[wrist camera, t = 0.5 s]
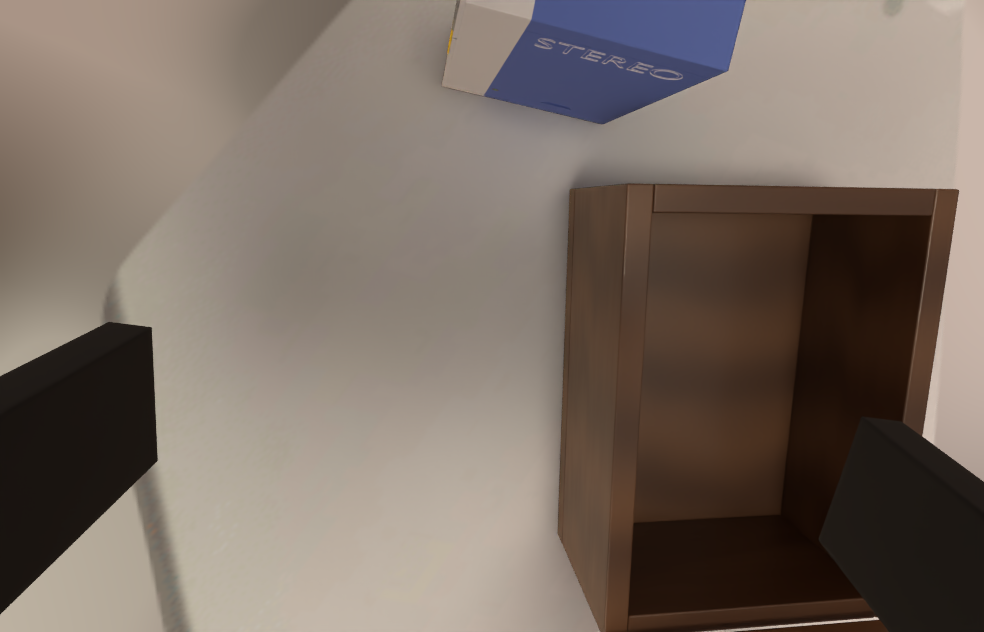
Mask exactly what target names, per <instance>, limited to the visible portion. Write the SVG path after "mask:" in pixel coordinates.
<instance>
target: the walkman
mask: <svg viewBox="0 0 984 632" xmlns="http://www.w3.org/2000/svg"><path fill="white" fill-rule="evenodd" d="M745 2H746V0H457V3H456V8H455V14H454V19H453V24H452V29H451V34H450V39H449V45H448V51H447V53H448V54H447V59H446V64H445V70H444V75H443V81H442V86H443V87H447V88H452V89H456V90H460V91H464V92H468V93H473V94H477V95H481V96H486V97H490V98H494V99H498V100H503V101H507V102H511V103H515V104H519V105H524V106H528V107H532V108H536V109H541V110H545V111H549V112H553V113H557V114H562V115H566V116H570V117H574V118H578V119H583V120H587V121H591V122H595V123H600V124H605V123H607V122H609V121H612V120H614V119H616V118H619V117H621V116H623V115H626V114H628V113H630V112H633V111H635V110H637V109H640V108H642V107H645V106H647V105H649V104H652V103H654V102H656V101H659V100H661V99H663V98H666V97H668V96H670V95H673V94H675V93H677V92H680V91H682V90H684V89H687V88H689V87H691V86H694V85H696V84H698V83H701V82H703V81H705V80H708V79H710V78H712V77H715V76H717V75H719V74H722V73H724V72H727V71H728V69H729V65H730V61H731V57H732V53H733V49H734V45H735V41H736V37H737V33H738V29H739V25H740V21H741V17H742V14H743V10H744V6H745Z"/></svg>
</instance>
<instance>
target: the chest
mask: <svg viewBox="0 0 984 632" xmlns="http://www.w3.org/2000/svg"><path fill="white" fill-rule="evenodd" d="M958 194H959V190H957V189H913V188H857V187H800V186H744V185H688V184H631V183H628V184H618V185H608V186H598V187H588V188H577V189H570V199H569V228H568V256H567V285H566V313H565V342H564V370H563V398H562V427H561V455H560V484H559V512H558V535H559V538H560V540H561V542H562V544H563V546H564V549H565V551H566V553H567V556H568V558H569V560H570V563H571V565H572V567H573V570H574V572H575V574H576V576H577V579H578V581H579V583H580V586H581V588H582V590H583V593H584V595H585V597H586V599H587V602H588V604H589V606H590V609H591V611H592V613H593V616H594V618H595V620H596V622H597V625H598V627H599V629H600V632H701V631H714V630H726V629H738V628H751V627H763V626H776V625H788V624H800V623H813V622H825V621H837V620H850V619H862V618H873V617H877V616H876V614H875V613H874V612H873V610H872V609H871V608H870V607H869V605H868V604H867V603H866V601H865V600H864V599H863V597H862V596H861V595H860V594H859V592H858V591H857V590H856V588H855V587H854V586H853V584H852V583H851V582H850V581H849V579H848V578H847V577H846V575H845V574H844V573H843V571H842V570H841V569H840V567H839V566H838V565H837V564H836V562H835V561H834V560H833V558H832V557H831V556H830V554H829V553H828V552H827V551H826V549H825V548H824V547H823V545H822V544H821V543H820V541H819V540H818V539H819V536H820V533H821V530H822V528H823V525H824V522H825V519H826V516H827V513H828V511H829V508H830V505H831V502H832V499H833V496H834V493H835V491H836V488H837V485H838V482H839V479H840V476H841V474H842V471H843V468H844V465H845V462H846V459H847V456H848V454H849V451H850V448H851V445H852V442H853V439H854V437H855V434H856V431H857V428H858V425H859V422H860V419H861V417H870V418H878V419H886V420H894V421H902V422H903V423H904V424H906V425H907V426H908V427H910V428H911V429H913V430H914V431H915V432H917V433H918V434H919V435H921V436H922V434H923V428H924V421H925V414H926V408H927V401H928V394H929V388H930V381H931V374H932V368H933V361H934V354H935V348H936V341H937V334H938V328H939V321H940V315H941V308H942V301H943V295H944V288H945V281H946V275H947V268H948V261H949V255H950V248H951V241H952V234H953V228H954V221H955V214H956V208H957V201H958Z"/></svg>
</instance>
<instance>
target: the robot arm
mask: <svg viewBox="0 0 984 632" xmlns="http://www.w3.org/2000/svg"><path fill="white" fill-rule="evenodd" d="M157 461H158V458H157V436H156V414H155V391H154V369H153V346H152V327H145V326H137V325H129V324H121V323H113V322H108V323H106V324H104V325H102V326H100V327H98V328H96V329H94V330H92V331H90V332H88V333H86V334H84V335H82V336H80V337H78V338H76V339H74V340H72V341H70V342H68V343H66V344H64V345H62V346H60V347H58V348H56V349H54V350H52V351H50V352H48V353H46V354H44V355H42V356H40V357H38V358H36V359H34V360H32V361H30V362H28V363H26V364H24V365H22V366H20V367H18V368H16V369H14V370H12V371H10V372H8V373H6V374H4V375H2V376H0V614H1V613H2V612H3V611H4V610H5V609H6V608H7V607H8V606H9V605H10V604H11V603H12V602H13V601H14V600H15V599H16V598H17V597H18V596H20V595H21V593H23V592H24V591H25V590H26V589H27V588H28V587H29V586H30V585H31V584H32V583H33V582H34V581H35V580H36V579H37V578H38V577H39V576H40V575H41V574H42V573H43V572H44V571H45V570H46V569H47V568H48V567H49V566H50V565H51V564H52V563H53V562H54V561H55V560H56V559H57V558H58V557H59V556H61V555H62V554H63V553H64V552H65V551H66V550H67V549H68V548H69V547H70V546H71V545H72V544H73V543H74V542H75V541H76V540H77V539H78V538H79V537H80V536H81V535H82V534H83V533H84V532H85V531H86V530H87V529H88V528H89V527H90V526H91V525H92V524H93V523H94V522H95V521H96V520H97V519H98V518H99V517H100V516H101V515H102V514H104V512H106V511H107V510H108V509H109V508H110V507H111V506H112V505H113V504H114V503H115V502H116V501H117V500H118V499H119V498H120V497H121V496H122V495H123V494H124V493H125V492H126V491H127V490H128V489H129V488H130V487H131V486H132V485H133V484H134V483H135V482H136V481H137V480H138V479H139V478H140V477H141V476H142V475H144V474H145V473H146V472H147V471H148V470H149V469H150V468H151V467H152V466H153V465H154V464H155V463H156V462H157ZM818 540H819V541H820V543H821V544H822V545H823V547H824V548H825V549H826V551H827V552H828V553H829V554H830V556H831V557H832V558H833V560H834V561H835V562H836V564H837V565H838V566H839V567H840V569H841V570H842V571H843V573H844V574H845V575H846V577H847V578H848V579H849V581H850V582H851V583H852V584H853V586H854V587H855V588H856V590H857V591H858V592H859V594H860V595H861V596H862V597H863V599H864V600H865V601H866V603H867V604H868V605H869V607H870V608H871V609H872V610H873V612H874V613H875V614H876V616H877V617H878V618H879V620H880V621H881V622H882V623H883V625H884V626H885V627H886V629H887V630H888V631H889V632H984V482H983V481H982V480H980V479H979V478H978V477H976V476H975V475H974V474H972V473H971V472H970V471H968V470H967V469H965V468H964V467H963V466H961V465H960V464H959V463H957V462H956V461H955V460H953V459H952V458H951V457H949V456H948V455H947V454H945V453H944V452H942V451H941V450H940V449H938V448H937V447H936V446H934V445H933V444H932V443H930V442H929V441H927V440H926V439H925V438H923V437H922V436H921V435H919V434H918V433H917V432H915V431H914V430H913V429H911V428H910V427H908V426H907V425H906V424H904V423H903V422H902V421H894V420H886V419H878V418H870V417H861V419H860V422H859V425H858V428H857V431H856V434H855V437H854V439H853V442H852V445H851V448H850V451H849V454H848V456H847V459H846V462H845V465H844V468H843V471H842V474H841V476H840V479H839V482H838V485H837V488H836V491H835V493H834V496H833V499H832V502H831V505H830V508H829V511H828V513H827V516H826V519H825V522H824V525H823V528H822V530H821V533H820V536H819V539H818Z"/></svg>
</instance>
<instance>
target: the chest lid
mask: <svg viewBox="0 0 984 632" xmlns="http://www.w3.org/2000/svg"><path fill="white" fill-rule="evenodd" d="M736 632H889V631H888V630H887V629H886V627H885V626H884V625H883V623H882V622H881V621H880V620H871V621H858V622H846V623H834V624H822V625H809V626H797V627H785V628H773V629H760V630H748V631H736Z"/></svg>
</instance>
